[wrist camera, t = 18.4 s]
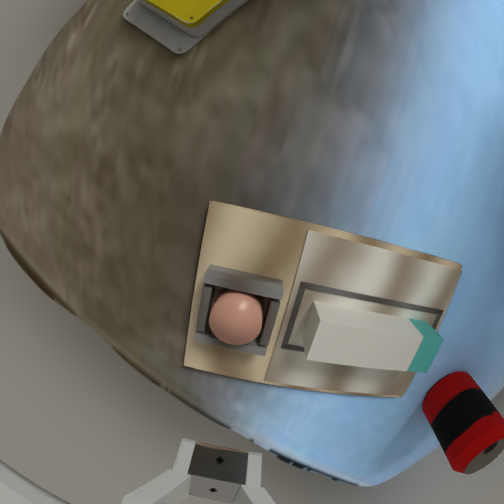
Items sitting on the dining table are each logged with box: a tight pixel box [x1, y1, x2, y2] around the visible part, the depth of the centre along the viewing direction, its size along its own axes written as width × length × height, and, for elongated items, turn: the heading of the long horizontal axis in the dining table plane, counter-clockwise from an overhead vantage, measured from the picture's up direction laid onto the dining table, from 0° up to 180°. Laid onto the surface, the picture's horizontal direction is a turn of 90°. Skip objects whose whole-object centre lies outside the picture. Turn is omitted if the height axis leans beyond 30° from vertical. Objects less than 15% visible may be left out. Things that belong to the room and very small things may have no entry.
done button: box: [209, 288, 263, 345], centre depth 24 cm, size 4×4×3 cm
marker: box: [302, 301, 443, 372], centre depth 24 cm, size 4×12×4 cm, turn 78°
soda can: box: [423, 372, 504, 474], centre depth 23 cm, size 8×8×12 cm
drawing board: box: [184, 201, 462, 397], centre depth 25 cm, size 24×16×3 cm, turn 78°
